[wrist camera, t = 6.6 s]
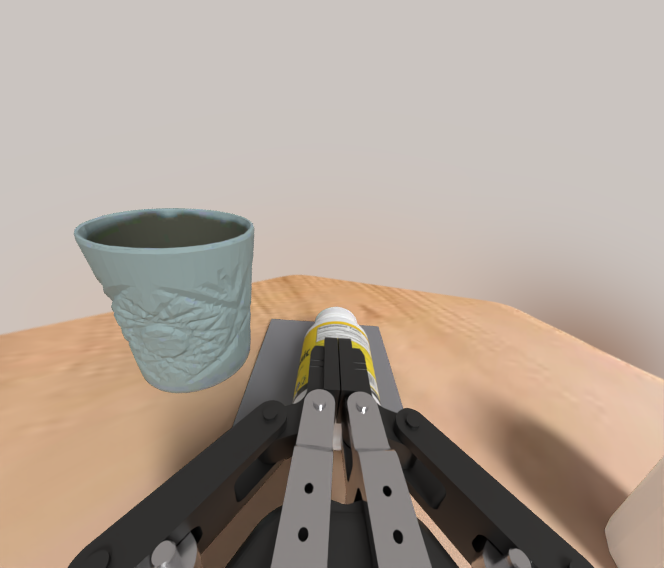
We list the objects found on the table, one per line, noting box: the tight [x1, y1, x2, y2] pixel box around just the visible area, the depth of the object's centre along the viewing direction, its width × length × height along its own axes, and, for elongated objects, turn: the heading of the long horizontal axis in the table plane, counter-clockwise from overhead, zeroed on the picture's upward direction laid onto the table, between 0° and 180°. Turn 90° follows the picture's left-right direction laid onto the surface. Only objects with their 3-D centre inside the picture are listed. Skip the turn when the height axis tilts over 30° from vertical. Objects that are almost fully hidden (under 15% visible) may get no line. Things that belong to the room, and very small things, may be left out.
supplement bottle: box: [292, 307, 381, 450], centre depth 18 cm, size 5×5×10 cm
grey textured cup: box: [74, 208, 254, 393], centre depth 19 cm, size 10×10×12 cm
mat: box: [233, 319, 403, 426], centre depth 21 cm, size 13×12×1 cm
